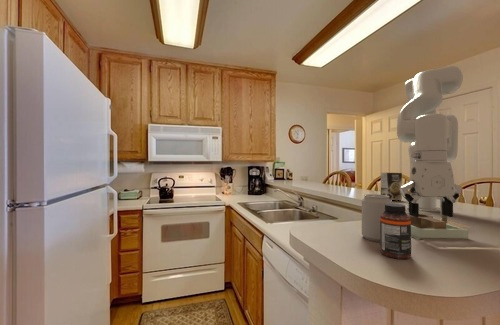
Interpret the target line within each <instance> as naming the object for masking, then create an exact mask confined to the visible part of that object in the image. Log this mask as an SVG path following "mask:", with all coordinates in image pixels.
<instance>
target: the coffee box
mask: <svg viewBox="0 0 500 325" xmlns="http://www.w3.org/2000/svg"><path fill="white" fill-rule="evenodd" d="M402 178H403V172H381V173H380V195H387V196H389V199H390V200H402V198H403V196H402V193H401V191H400V189H399V188H400V187H402V186H403V184H402V183H403V181H402V180H403V179H402ZM402 201H403V200H402Z"/></svg>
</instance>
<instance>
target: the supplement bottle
mask: <svg viewBox="0 0 500 325" xmlns="http://www.w3.org/2000/svg"><path fill="white" fill-rule="evenodd" d="M406 208H407V207H406V204H403V203H393V202H392V203H387V204H385V211H384V213H382V214H381V215H380V242H379V243H380V252H381V253H382V255H384V256H386V257H389V258H391V259H399V260H405V259H407V260H408V259H410V258H411V257H412V236H411V218H410V216H408V215H407V214H406V213H407V209H406Z"/></svg>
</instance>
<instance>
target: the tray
mask: <svg viewBox="0 0 500 325" xmlns="http://www.w3.org/2000/svg"><path fill="white" fill-rule="evenodd" d="M411 238H414V239H417V240H418V241H423V239H451V240H452V239H458V240H459V239H460V240H461V239H464V240H465V239H466V240H467V239H469V229H468V228H460V227H457V226H453V225H450V224H447V223H446V229H420V228H418V227H415V226H412V225H411Z"/></svg>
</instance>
